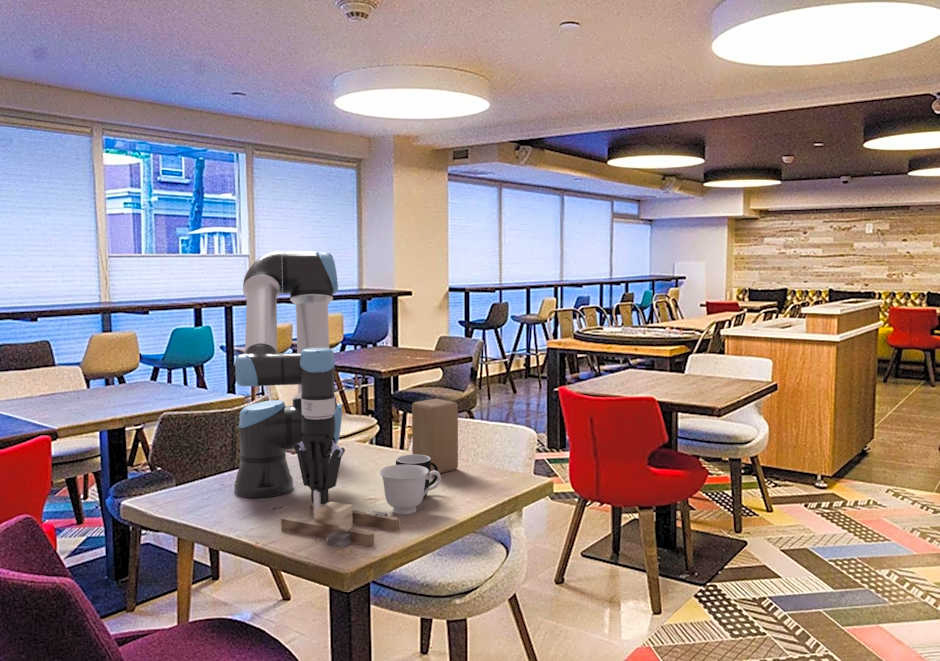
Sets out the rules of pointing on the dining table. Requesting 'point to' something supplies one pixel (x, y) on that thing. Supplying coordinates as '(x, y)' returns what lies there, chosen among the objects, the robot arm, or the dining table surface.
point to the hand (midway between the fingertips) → (320, 516)
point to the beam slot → (343, 528)
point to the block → (436, 432)
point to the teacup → (406, 486)
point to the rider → (334, 514)
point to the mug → (421, 461)
